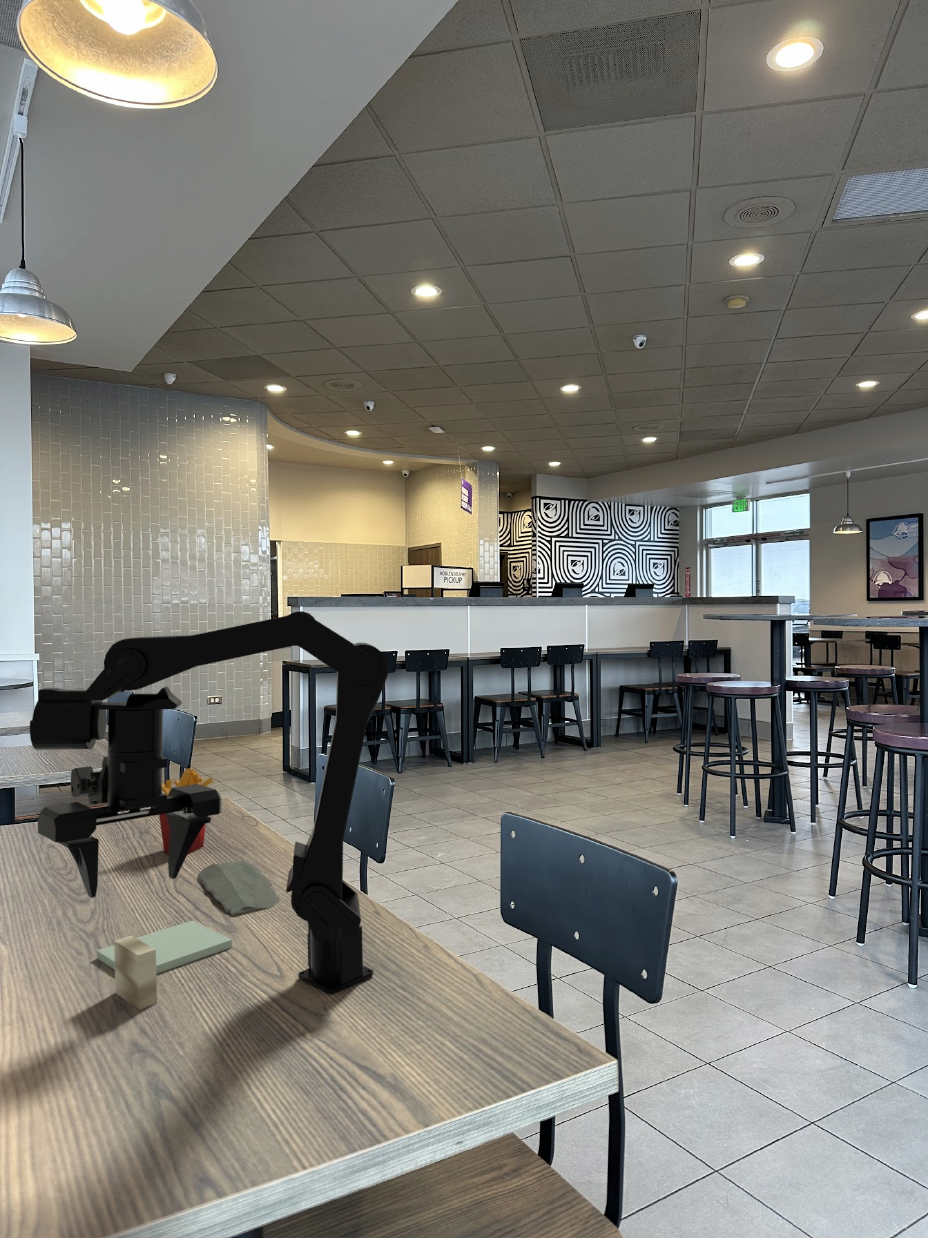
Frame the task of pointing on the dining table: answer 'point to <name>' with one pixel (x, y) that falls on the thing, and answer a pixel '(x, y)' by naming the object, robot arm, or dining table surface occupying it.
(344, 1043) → the dining table surface
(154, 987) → the beige flat box
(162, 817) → the french fries
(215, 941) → the mat
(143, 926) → the dining table surface
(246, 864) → the stone slab
